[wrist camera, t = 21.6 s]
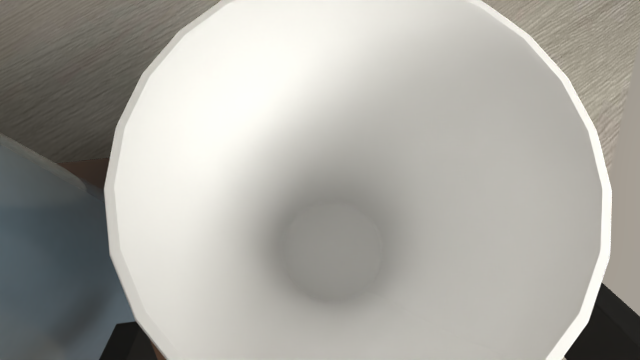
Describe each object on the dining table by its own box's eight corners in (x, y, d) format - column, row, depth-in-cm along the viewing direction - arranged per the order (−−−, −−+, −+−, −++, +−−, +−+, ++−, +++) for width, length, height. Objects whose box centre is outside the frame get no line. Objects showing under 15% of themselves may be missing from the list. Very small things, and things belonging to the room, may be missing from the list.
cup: (347, 128, 23) (386, -96, 10) (468, 269, 20) (725, 205, 8) (198, 232, 21) (13, 113, 8) (312, 404, 18) (307, 626, 6)
